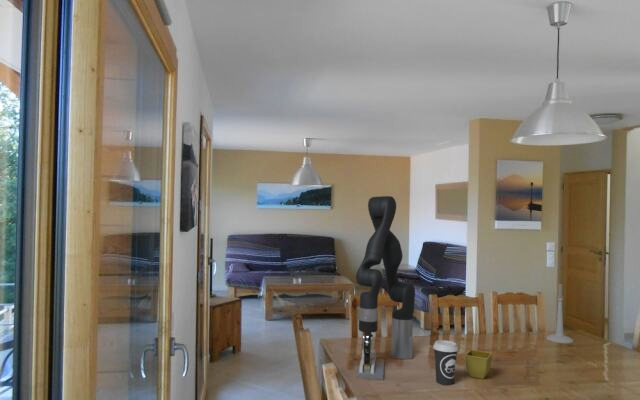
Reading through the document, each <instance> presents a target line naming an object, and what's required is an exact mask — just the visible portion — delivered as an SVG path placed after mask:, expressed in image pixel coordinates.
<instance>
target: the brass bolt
mask: <svg viewBox="0 0 640 400" xmlns="http://www.w3.org/2000/svg"><path fill="white" fill-rule="evenodd" d="M371 350H372V348H371V349H370V352H371ZM365 351H369V350H368V349H366V350H365ZM371 359H372V355H371V354H370V364H365V363H363V365H364V371H370V367H371Z"/></svg>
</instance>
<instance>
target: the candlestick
mask: <svg viewBox="0 0 640 400" xmlns="http://www.w3.org/2000/svg"><path fill="white" fill-rule="evenodd" d="M557 286H558V287H557V295H556V298H557V301H558V302H557V314H556V327H555V328H556V329H555V334H554V333H553V334H549V335H547V336H546V337H545V338H546V340H547V341H549V342H553V343H557V344H558V343H559V344H573V343H574V340H573V338H571V337H570V336H567V335H565V334H564V315H563V300H564V296H563V283H558V284H557Z"/></svg>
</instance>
